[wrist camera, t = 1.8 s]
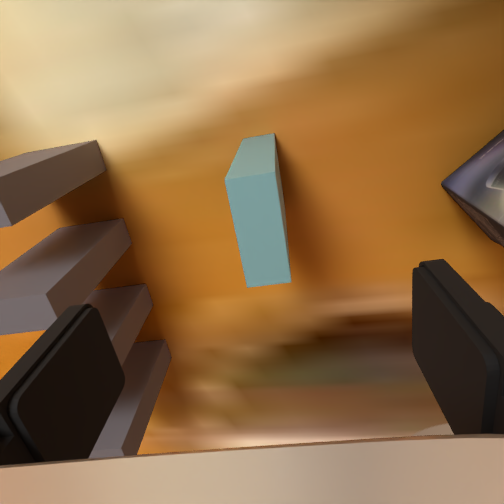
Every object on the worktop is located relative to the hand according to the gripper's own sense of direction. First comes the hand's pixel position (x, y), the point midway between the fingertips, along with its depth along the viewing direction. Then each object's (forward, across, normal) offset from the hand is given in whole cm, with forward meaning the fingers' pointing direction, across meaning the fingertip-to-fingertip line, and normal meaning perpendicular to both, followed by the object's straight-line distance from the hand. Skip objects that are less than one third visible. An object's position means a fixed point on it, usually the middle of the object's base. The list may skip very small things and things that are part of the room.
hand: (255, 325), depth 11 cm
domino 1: (+15, +13, -4) cm, 20 cm away
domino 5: (+15, 0, -1) cm, 15 cm away
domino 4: (+16, +13, +12) cm, 24 cm away
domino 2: (+16, +13, +2) cm, 20 cm away
